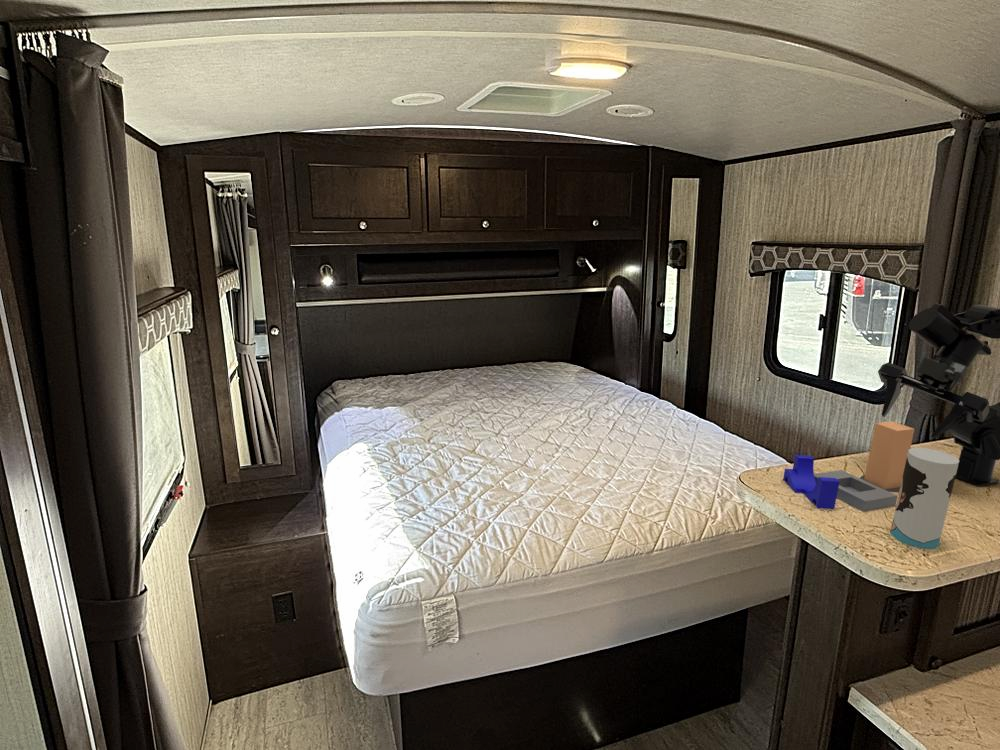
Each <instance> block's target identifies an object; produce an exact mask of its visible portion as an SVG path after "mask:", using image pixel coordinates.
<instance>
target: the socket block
mask: <svg viewBox="0 0 1000 750" xmlns="http://www.w3.org/2000/svg"><path fill="white" fill-rule="evenodd" d="M819 477H826V478H836V479H837V480H838V481H839V487H838V492H837V497H836V500H837V499H838V500H839V501H841V502H843V503H845V504H848V505H849V506H851V507H852V508H855V509H858V510H859V511H862V512H870V511H874V510H880V509H886V508H887V509H888V508H892V507H896V504H897V500H898V494H896V493H895V494H894V492H888V491H886V490H884V489H882V488H880V487H878V486H875V485H873V484H871V483H869V482H867V481H865V480H862V479H860V477H859V476H855V475H854V474H851V473H849V472H847V471H844V470H843V469H840V470H839V469H838V470H832V471H825V472H819V473H814V478H815V482H816V484H817V482H818V478H819Z"/></svg>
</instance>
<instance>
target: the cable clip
mask: <svg viewBox="0 0 1000 750" xmlns="http://www.w3.org/2000/svg"><path fill="white" fill-rule="evenodd" d="M814 463H815V458H814V457H813V456H812V455H800V454H795V455H794V459H793V465H792V468H784V473H783V481H784V482H786V485H787V486H788V487H789V488H790V489H791V490H792V491H793V492H794V493H795V494H803V495H804V496H805V497H806V498H807V499H808V500H809V501H810V503H812V504H815V507H816V509H826V510H827V509H829V510H835V507H836V502H837V498H836V497H837V492H838V487H839V481H838V480H837V479H836V478H826V477H819V478H818V482H817V484H816V482H815V478H814V474H815V472H814V465H815V464H814Z"/></svg>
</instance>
